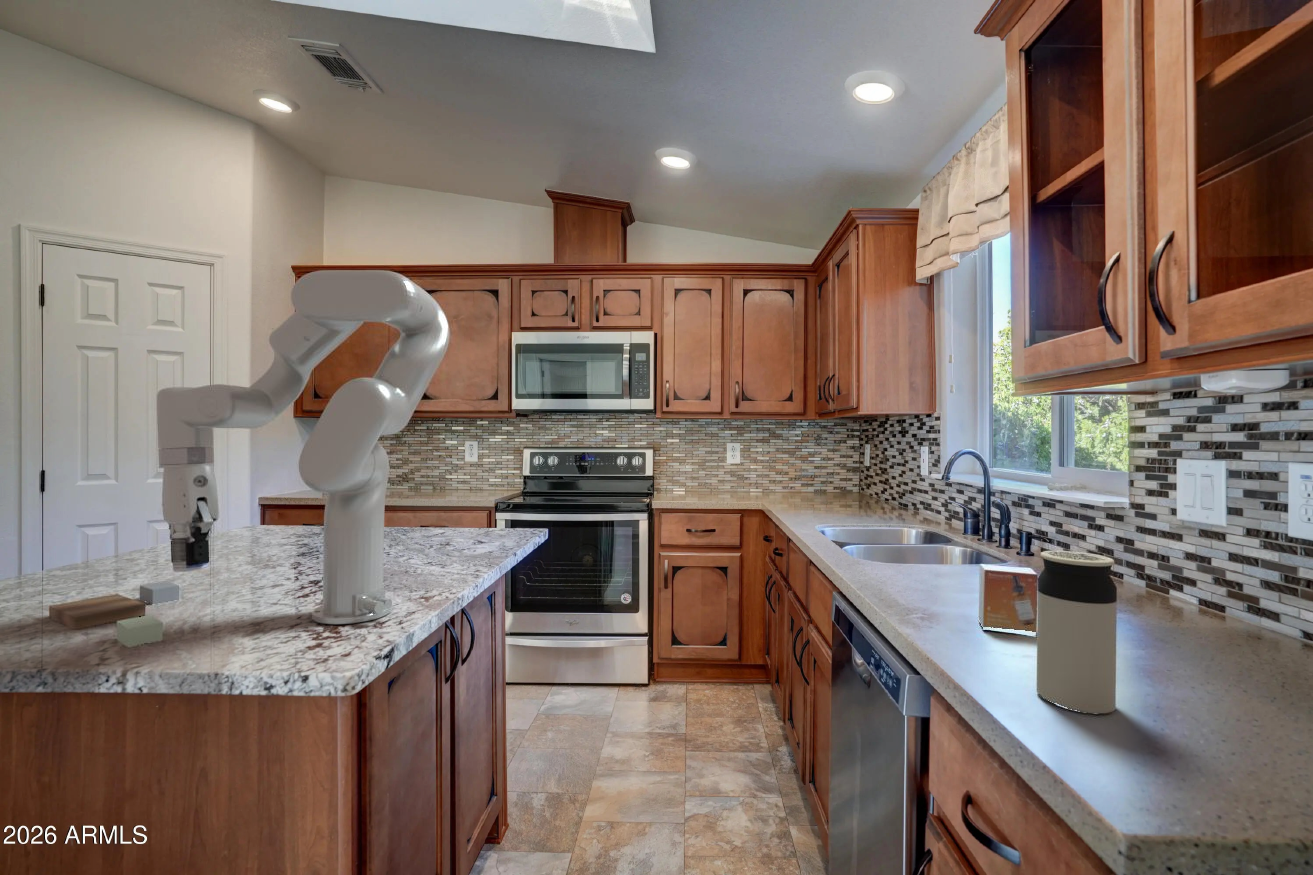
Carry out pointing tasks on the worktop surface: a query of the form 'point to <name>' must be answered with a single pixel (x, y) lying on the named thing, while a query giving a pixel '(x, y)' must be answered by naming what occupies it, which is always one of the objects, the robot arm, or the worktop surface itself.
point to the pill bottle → (182, 549)
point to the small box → (1008, 597)
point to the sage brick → (139, 630)
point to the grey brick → (159, 592)
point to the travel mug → (1077, 631)
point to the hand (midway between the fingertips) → (190, 561)
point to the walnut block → (96, 611)
